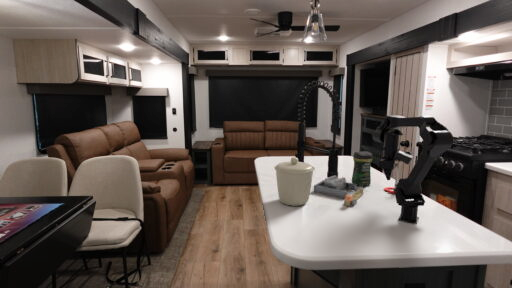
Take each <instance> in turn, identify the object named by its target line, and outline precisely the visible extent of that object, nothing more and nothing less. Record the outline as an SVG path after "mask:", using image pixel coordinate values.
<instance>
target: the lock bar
mask: <svg viewBox="0 0 512 288" xmlns="http://www.w3.org/2000/svg"><path fill="white" fill-rule="evenodd" d="M362 195H364V189H361V188H360V189H358V190H356V191H355V192H354V193H353V194H352V195H350V194H347V195H346V196H345V199H344V200H345V201H346V205H345V206H348V207H352V201H354V200H357V201H358V199H360V198H361V197H362Z"/></svg>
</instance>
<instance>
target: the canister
mask: <svg viewBox="0 0 512 288" xmlns="http://www.w3.org/2000/svg"><path fill="white" fill-rule="evenodd" d="M273 168H274V171H275V175H276V184H277V185H276V187H277V194H278V199H279V201H280V202H281V203H282V204H284V205H286V206H290V205H291V206H292V207H298V206H304V205H305V204H307V203H308V202H309V199H310V194H311V187H312V181H313V175H314V171H315V167H314V166H312V164H309V163H307V162H302V161H299V158H298V157H294V156H293V157H291V158H290V161H283V162H279V163H278V164H276V165H275V166H274V167H273ZM291 206H290V207H291Z"/></svg>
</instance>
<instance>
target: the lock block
mask: <svg viewBox="0 0 512 288" xmlns="http://www.w3.org/2000/svg"><path fill="white" fill-rule="evenodd" d="M323 180H324V187H328V188H333V189H338V190H344V191H347V189H346V182H347V179H346V177H340V178H339V177H338V176H337V175H331V176H329V177H326V178H325V179H323Z"/></svg>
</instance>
